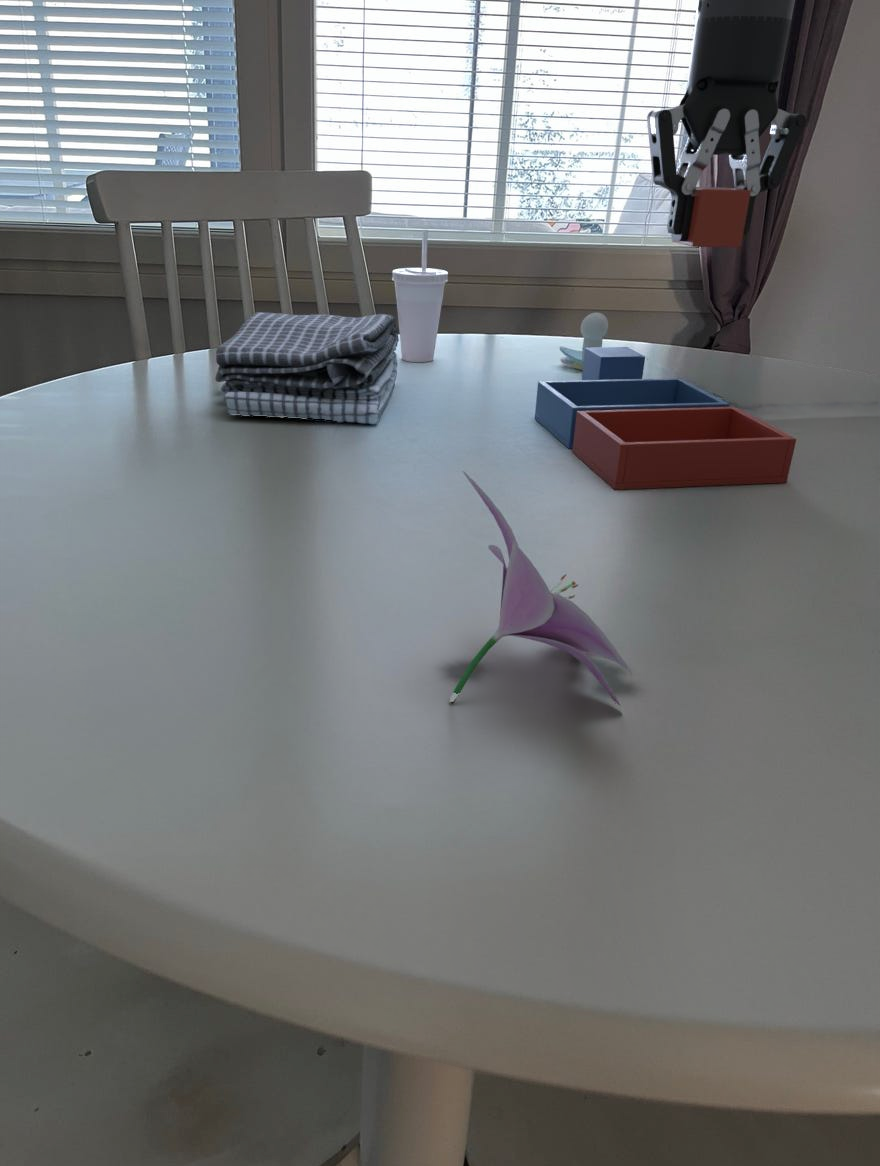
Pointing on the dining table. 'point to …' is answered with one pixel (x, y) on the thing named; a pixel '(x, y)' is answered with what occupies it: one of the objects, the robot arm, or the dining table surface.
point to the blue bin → (612, 400)
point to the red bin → (681, 447)
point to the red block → (718, 217)
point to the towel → (310, 366)
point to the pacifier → (587, 339)
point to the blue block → (612, 364)
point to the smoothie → (419, 307)
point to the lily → (541, 610)
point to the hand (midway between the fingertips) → (706, 240)
